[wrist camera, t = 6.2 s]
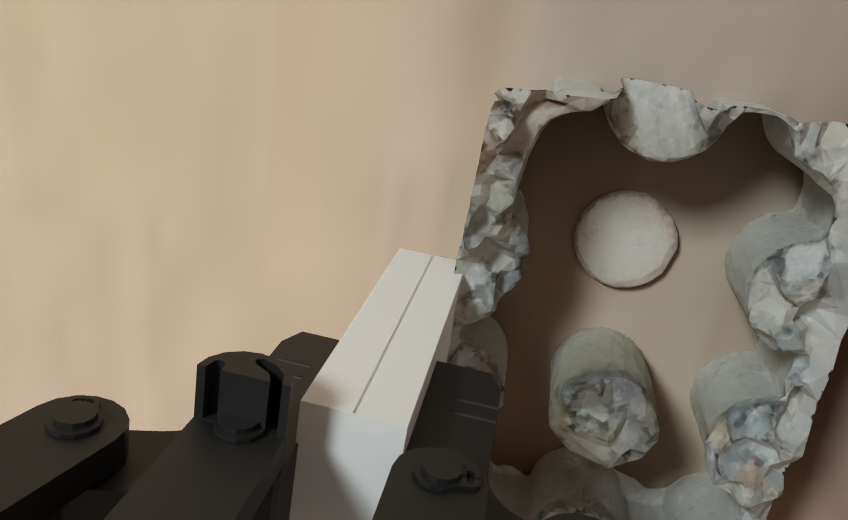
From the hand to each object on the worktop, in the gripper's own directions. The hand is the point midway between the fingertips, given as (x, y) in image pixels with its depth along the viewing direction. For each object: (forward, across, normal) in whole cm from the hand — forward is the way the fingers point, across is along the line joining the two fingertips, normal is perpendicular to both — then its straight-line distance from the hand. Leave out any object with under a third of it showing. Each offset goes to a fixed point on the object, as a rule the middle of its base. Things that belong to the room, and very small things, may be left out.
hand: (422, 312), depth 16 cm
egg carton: (+2, +4, 0) cm, 5 cm away
